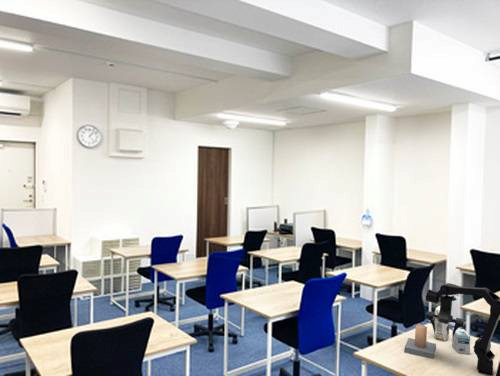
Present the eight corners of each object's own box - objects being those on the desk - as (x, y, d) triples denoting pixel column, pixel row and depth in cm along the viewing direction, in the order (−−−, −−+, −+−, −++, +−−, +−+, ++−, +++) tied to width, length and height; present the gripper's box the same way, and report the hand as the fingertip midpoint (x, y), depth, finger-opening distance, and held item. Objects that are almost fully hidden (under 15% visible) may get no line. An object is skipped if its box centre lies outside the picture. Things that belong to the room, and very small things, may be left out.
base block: (435, 348, 225) (436, 343, 225) (433, 359, 212) (433, 353, 212) (408, 342, 232) (408, 337, 232) (404, 352, 219) (404, 347, 219)
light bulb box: (470, 354, 218) (470, 336, 218) (457, 353, 219) (457, 334, 219) (463, 346, 229) (464, 328, 228) (451, 345, 230) (452, 327, 230)
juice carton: (432, 338, 239) (433, 308, 238) (436, 334, 246) (437, 305, 245) (446, 342, 234) (447, 311, 234) (449, 337, 241) (450, 307, 240)
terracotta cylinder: (426, 344, 223) (427, 325, 222) (425, 348, 218) (426, 329, 217) (415, 342, 226) (416, 323, 225) (414, 346, 221) (414, 327, 220)
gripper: (425, 306, 212) (422, 333, 213) (463, 314, 201) (461, 343, 202) (428, 301, 221) (426, 327, 222) (465, 309, 211) (463, 336, 211)
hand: (443, 333), depth 214 cm, fingers open, 9 cm apart
